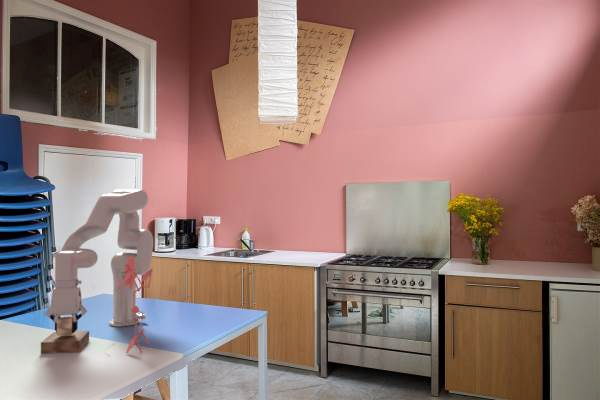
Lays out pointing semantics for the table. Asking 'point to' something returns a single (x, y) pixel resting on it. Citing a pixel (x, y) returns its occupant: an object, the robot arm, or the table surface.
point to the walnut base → (65, 342)
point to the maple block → (64, 325)
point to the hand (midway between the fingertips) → (66, 331)
